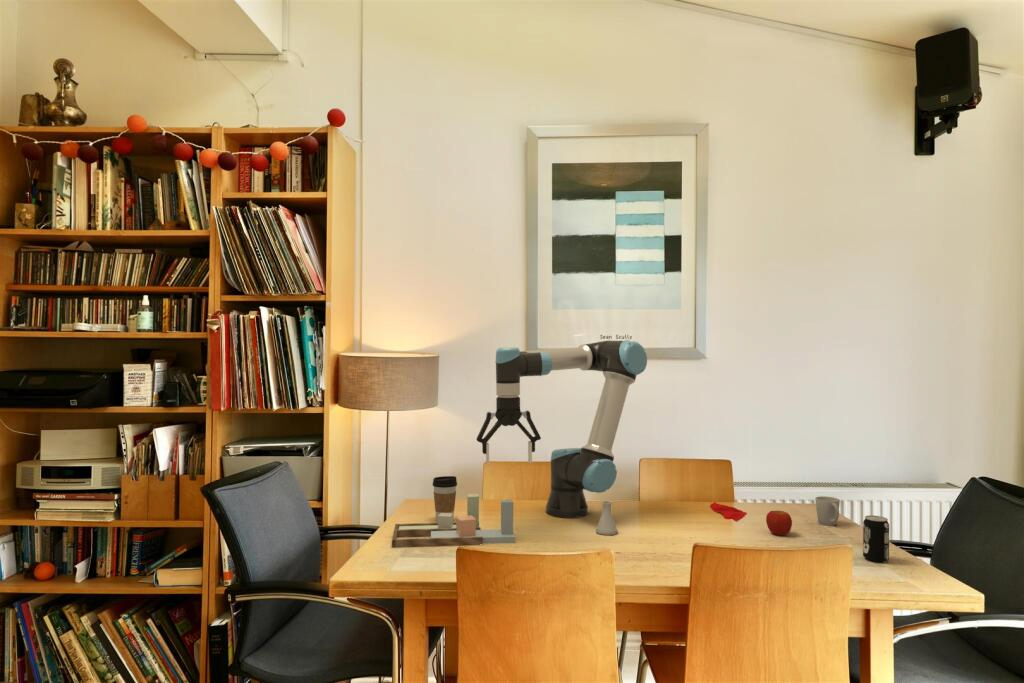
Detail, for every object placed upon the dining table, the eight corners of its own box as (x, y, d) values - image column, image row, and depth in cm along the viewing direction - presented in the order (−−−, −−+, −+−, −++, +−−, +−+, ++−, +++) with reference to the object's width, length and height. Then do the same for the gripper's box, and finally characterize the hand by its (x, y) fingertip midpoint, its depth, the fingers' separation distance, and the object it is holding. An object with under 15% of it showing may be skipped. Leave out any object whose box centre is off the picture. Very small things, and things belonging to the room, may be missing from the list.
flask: (620, 530, 222) (620, 500, 222) (615, 536, 215) (615, 505, 215) (598, 528, 225) (598, 498, 225) (593, 534, 218) (593, 503, 218)
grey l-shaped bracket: (478, 529, 222) (478, 493, 222) (479, 534, 217) (479, 497, 217) (399, 531, 219) (399, 495, 219) (398, 536, 214) (398, 498, 214)
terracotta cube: (471, 531, 214) (472, 515, 214) (475, 535, 209) (475, 519, 209) (456, 532, 212) (456, 516, 212) (459, 536, 207) (459, 520, 207)
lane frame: (478, 529, 223) (478, 521, 223) (482, 545, 206) (482, 537, 206) (395, 531, 220) (395, 523, 220) (392, 548, 202) (392, 540, 202)
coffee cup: (453, 524, 228) (453, 480, 228) (429, 523, 230) (429, 479, 230) (459, 518, 236) (460, 475, 236) (436, 517, 238) (436, 474, 238)
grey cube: (453, 525, 220) (453, 513, 220) (450, 529, 216) (450, 516, 216) (441, 525, 220) (441, 512, 220) (437, 528, 216) (437, 516, 216)
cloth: (753, 524, 233) (753, 518, 233) (711, 522, 235) (711, 516, 235) (742, 506, 258) (742, 500, 258) (704, 504, 261) (704, 498, 261)
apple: (780, 539, 214) (780, 514, 214) (760, 532, 221) (760, 508, 221) (797, 535, 218) (797, 511, 218) (777, 529, 225) (777, 506, 225)
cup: (831, 520, 236) (831, 496, 236) (848, 528, 226) (848, 503, 226) (810, 521, 236) (810, 496, 236) (826, 529, 226) (827, 503, 226)
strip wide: (511, 534, 216) (511, 497, 216) (514, 542, 208) (515, 504, 208) (430, 536, 214) (431, 499, 213) (430, 545, 205) (430, 505, 205)
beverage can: (858, 556, 197) (858, 515, 197) (879, 555, 198) (880, 514, 198) (872, 563, 191) (872, 521, 191) (894, 563, 191) (894, 520, 191)
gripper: (544, 394, 220) (545, 459, 221) (467, 396, 217) (468, 462, 217) (549, 396, 213) (549, 463, 213) (469, 398, 209) (470, 467, 210)
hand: (508, 463), depth 215 cm, fingers open, 13 cm apart
